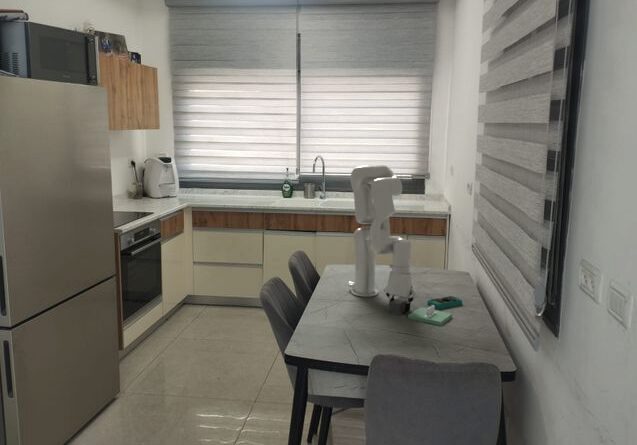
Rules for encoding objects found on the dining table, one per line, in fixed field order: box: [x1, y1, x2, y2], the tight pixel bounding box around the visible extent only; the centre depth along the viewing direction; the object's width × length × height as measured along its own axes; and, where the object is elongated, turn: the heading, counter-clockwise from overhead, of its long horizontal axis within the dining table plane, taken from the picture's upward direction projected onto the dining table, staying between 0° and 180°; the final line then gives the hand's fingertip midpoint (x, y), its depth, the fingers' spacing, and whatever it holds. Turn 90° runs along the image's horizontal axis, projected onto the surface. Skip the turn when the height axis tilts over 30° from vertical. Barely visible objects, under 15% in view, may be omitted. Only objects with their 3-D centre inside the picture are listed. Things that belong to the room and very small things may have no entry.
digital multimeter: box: [427, 295, 463, 310], centre depth 241 cm, size 7×15×3 cm, turn 119°
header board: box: [407, 305, 453, 326], centre depth 224 cm, size 14×12×4 cm
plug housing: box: [389, 296, 406, 316], centre depth 232 cm, size 4×9×5 cm, turn 145°
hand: (399, 309), depth 232 cm, fingers open, 6 cm apart
